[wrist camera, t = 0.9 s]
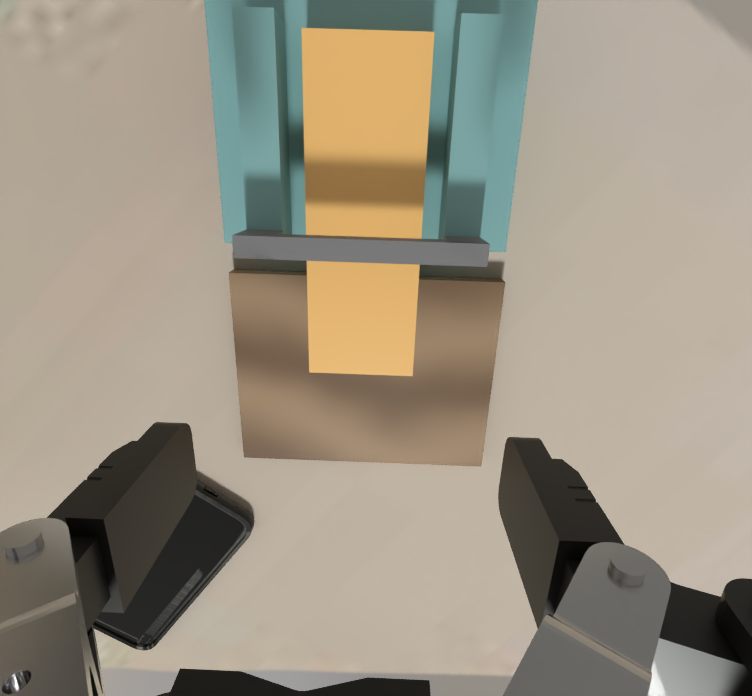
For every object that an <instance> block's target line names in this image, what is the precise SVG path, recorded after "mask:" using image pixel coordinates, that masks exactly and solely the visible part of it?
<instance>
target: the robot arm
mask: <svg viewBox="0 0 752 696" xmlns="http://www.w3.org/2000/svg"><path fill="white" fill-rule="evenodd" d="M196 484H197V473H196V465H195V457H194V449H193V441H192V433H191V429H190V426H189V425H188V424H186V423H165V422H156V423H154V424H153V425H152V426H151V427H150V428H149V429H148V430H147V431H146V432H145V434H144V435H143V436H142V437H141V438H140V439H139V440H138V441H131V442H129V443H128V444H126V445H124V446H122V447H121V448H119V449H117V450H115V451H114V452H112V453H111V454H110V455H109V456H108V457H107V458H106V459H105V460H104V461H103V462H102V463H101V464H100V465H99V468H98V469H95V470H94V471H93V472H92V473H91V474H90V475H89V476H88V477H87V480H84V481H83V482H82V483H81V484H80V485H79V486H78V487H77V488H76V489H75V490H74V491H73V492H72V493H71V494H70V495H69V496H68V497H67V498H66V499H65V500H64V501H63V502H62V503H61V504H60V505H59V506H58V507H57V508H56V509H55V510H54V511H53V512H52V513H51V514H50V515H49V516H48V517H47V518H39V519H34V520H29V521H26V522H22V523H19V524H17V525H14V526H12V527H10V528H8V529H6V530H4V531H2V532H0V696H105V691H104V685H103V680H102V674H101V668H100V662H99V656H98V650H97V644H96V638H95V633H94V629H93V623H94V622H95V620H96V619H97V617H98V615H99V614H100V612H113V613H124V612H125V610H126V609H127V607H128V605H129V604H130V602H131V600H132V599H133V597H134V595H135V594H136V592H137V590H138V589H139V587H140V585H141V584H142V582H143V581H144V579H145V577H146V576H147V574H148V572H149V571H150V569H151V567H152V566H153V564H154V562H155V561H156V559H157V557H158V556H159V554H160V552H161V551H162V549H163V547H164V546H165V544H166V543H167V541H168V539H169V538H170V536H171V534H172V533H173V531H174V529H175V528H176V526H177V524H178V523H179V521H180V519H181V518H182V516H183V514H184V513H185V511H186V510H187V508H188V506H189V505H190V503H191V501H192V499H193V497H194V494H195V490H196ZM498 499H499V510H500V514H501V518H502V521H503V524H504V527H505V530H506V533H507V536H508V539H509V542H510V545H511V548H512V551H513V554H514V557H515V560H516V563H517V567H518V570H519V573H520V576H521V579H522V582H523V585H524V588H525V591H526V594H527V597H528V600H529V603H530V606H531V609H532V612H533V615H534V618H535V621H536V624H537V627H538V630H537V632H536V634H535V636H534V638H533V639H532V641H531V643H530V645H529V647H528V649H527V651H526V653H525V655H524V657H523V658H522V660H521V662H520V664H519V666H518V668H517V670H516V672H515V674H514V675H513V677H512V679H511V681H510V683H509V685H508V687H507V689H506V691H505V692H504V694H503V696H752V579H735V580H732V581H730V582H729V583H727V585H726V586H725V588H724V591H723V593H722V596H721V597H719V596H715V595H712V594H708V593H705V592H701V591H698V590H694V589H691V588H687V587H684V586H680V585H677V584H674V583H672V582H670V580H669V578H668V576H667V574H666V573H665V571H664V570H663V569H662V568H661V567H660V565H658V564H657V563H656V562H655V561H654V560H653V559H651V558H650V557H649V556H647V555H646V554H644V553H642V552H641V551H639V550H637V549H635V548H632V547H629V546H627V545H624V543H623V542H622V540H621V538H620V537H619V535H618V534H617V532H616V531H615V529H614V527H613V526H612V524H611V523H610V521H609V520H608V518H607V516H606V515H605V513H604V512H603V510H602V509H601V507H600V505H599V504H598V503H596V499H595V498H594V496H593V494H592V493H591V491H590V490H588V487H587V485H586V483H585V482H584V480H583V479H582V477H581V476H580V474H579V472H577V471H576V470H575V469H574V468H572V467H571V466H570V465H568V464H567V463H566V462H565V461H563V460H562V459H552V458H551V457H550V455H549V453H548V451H547V450H546V448H545V446H544V444H543V443H542V441H541V440H540V439H539V438H519V437H509V438H508V439H507V441H506V444H505V450H504V457H503V464H502V471H501V477H500V484H499V494H498ZM158 696H430V684H429V681H428V680H407V679H386V678H364V679H359V680H355V681H350V682H346V683H341V684H337V685H332V686H327V687H323V688H318V689H314V690H309V691H297V690H293V689H290V688H287V687H284V686H282V685H279V684H276V683H272V682H270V681H267V680H264V679H261V678H258V677H255V676H252V675H250V674H247V673H244V672H240V671H219V670H198V669H180V670H179V673H178V675H177V677H176V680H175V682H174V685H173V687H172V689H171V692H169V693H164V694H161V695H158Z"/></svg>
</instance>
